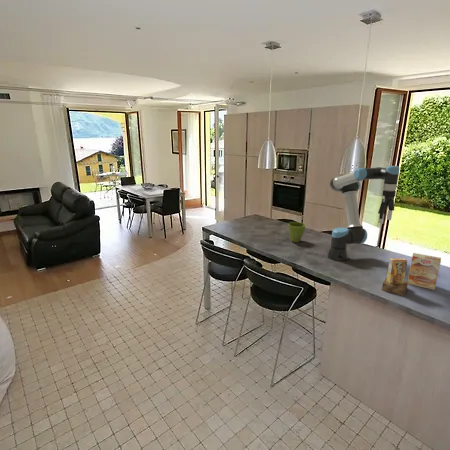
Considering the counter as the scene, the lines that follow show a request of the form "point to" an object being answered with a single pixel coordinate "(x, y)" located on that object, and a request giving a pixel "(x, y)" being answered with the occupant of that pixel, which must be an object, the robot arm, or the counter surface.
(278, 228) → the counter surface
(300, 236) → the flower pot
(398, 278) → the candy box
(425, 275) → the coffeecake box
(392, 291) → the walnut block
